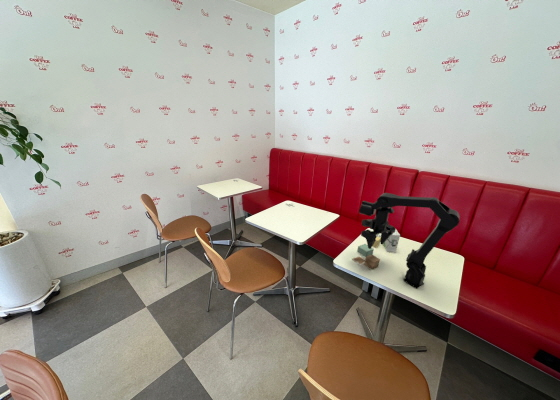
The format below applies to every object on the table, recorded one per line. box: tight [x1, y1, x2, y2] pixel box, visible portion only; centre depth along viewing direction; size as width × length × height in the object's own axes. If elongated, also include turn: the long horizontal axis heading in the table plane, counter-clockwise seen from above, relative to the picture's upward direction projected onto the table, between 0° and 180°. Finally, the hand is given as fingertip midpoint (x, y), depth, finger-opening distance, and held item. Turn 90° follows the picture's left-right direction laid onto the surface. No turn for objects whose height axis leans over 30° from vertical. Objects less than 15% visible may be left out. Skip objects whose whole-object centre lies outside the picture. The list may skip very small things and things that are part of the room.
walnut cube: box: [363, 254, 381, 271], centre depth 113 cm, size 5×5×5 cm
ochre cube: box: [372, 236, 381, 249], centre depth 133 cm, size 5×5×5 cm
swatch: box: [351, 255, 365, 266], centre depth 118 cm, size 6×6×1 cm
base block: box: [356, 243, 374, 258], centre depth 124 cm, size 6×6×4 cm
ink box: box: [382, 229, 401, 253], centre depth 128 cm, size 9×5×12 cm, turn 172°
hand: (375, 246), depth 110 cm, fingers open, 9 cm apart
